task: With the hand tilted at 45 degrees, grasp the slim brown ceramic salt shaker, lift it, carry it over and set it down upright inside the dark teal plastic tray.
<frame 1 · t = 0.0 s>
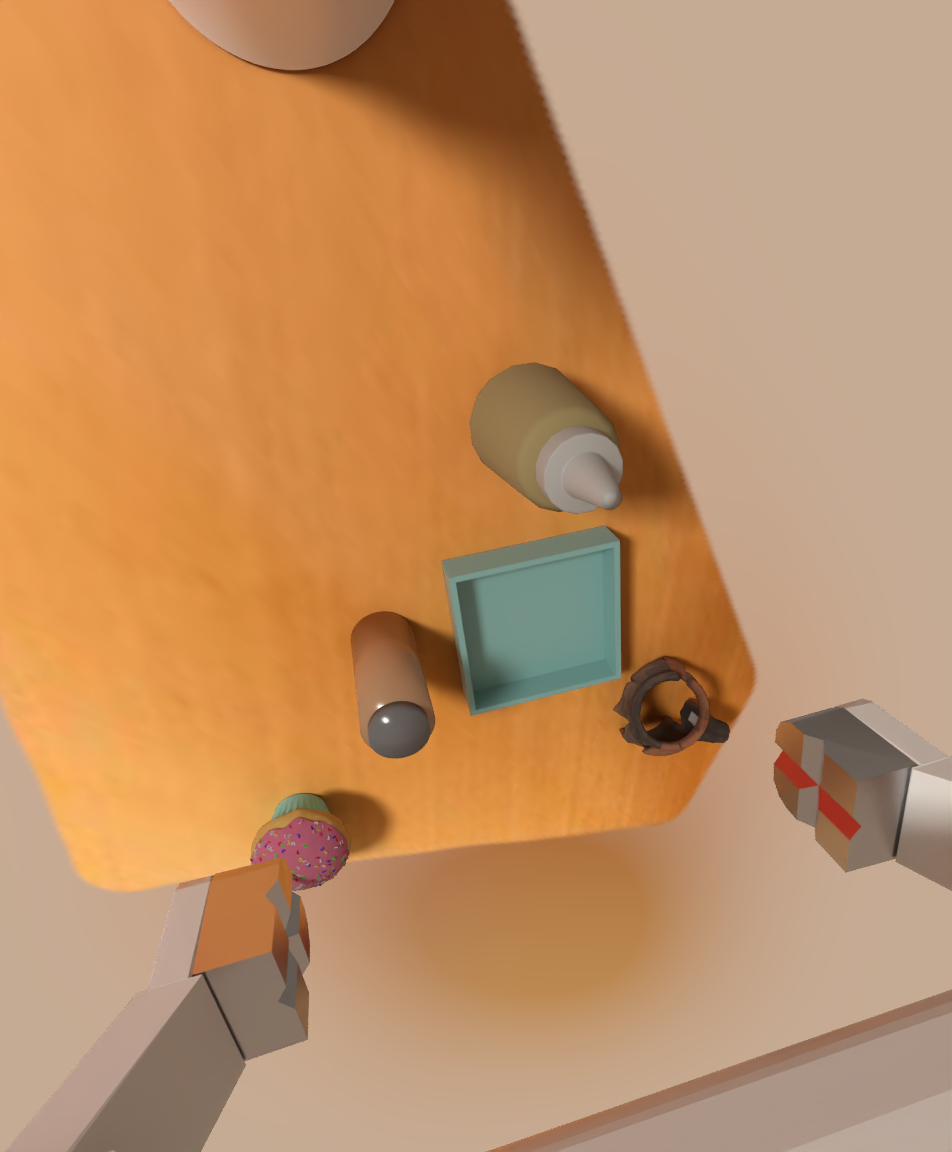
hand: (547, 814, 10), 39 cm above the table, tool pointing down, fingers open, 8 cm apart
tray: (531, 613, 56), on the table
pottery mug: (653, 693, 65), on the table
squeeze bottle: (511, 409, 48), on the table
cupcake: (302, 808, 61), on the table
shaker: (382, 638, 54), on the table
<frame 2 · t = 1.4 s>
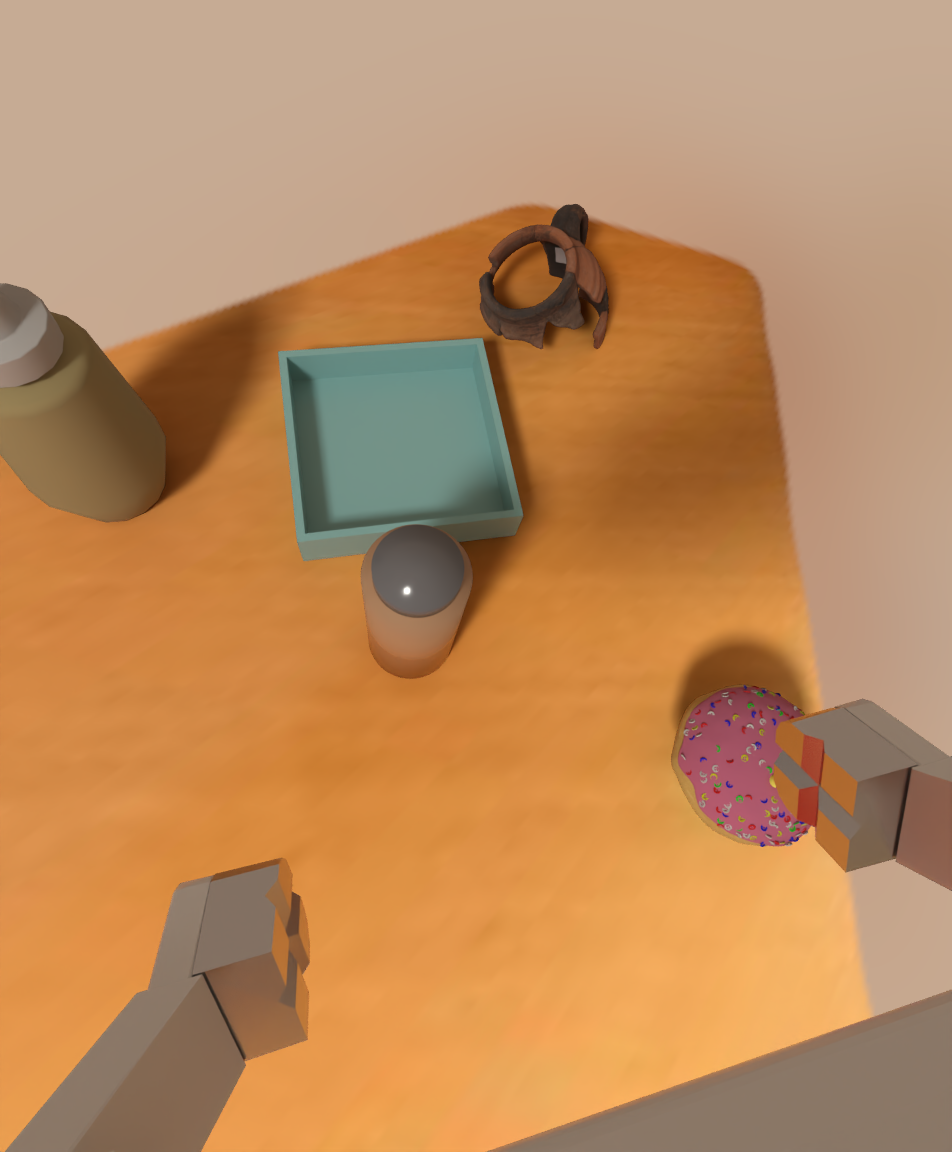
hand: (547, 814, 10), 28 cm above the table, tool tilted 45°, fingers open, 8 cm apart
tray: (397, 455, 45), on the table
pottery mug: (544, 315, 51), on the table
squeeze bottle: (120, 484, 42), on the table
cupcake: (710, 768, 40), on the table
shaker: (410, 637, 40), on the table
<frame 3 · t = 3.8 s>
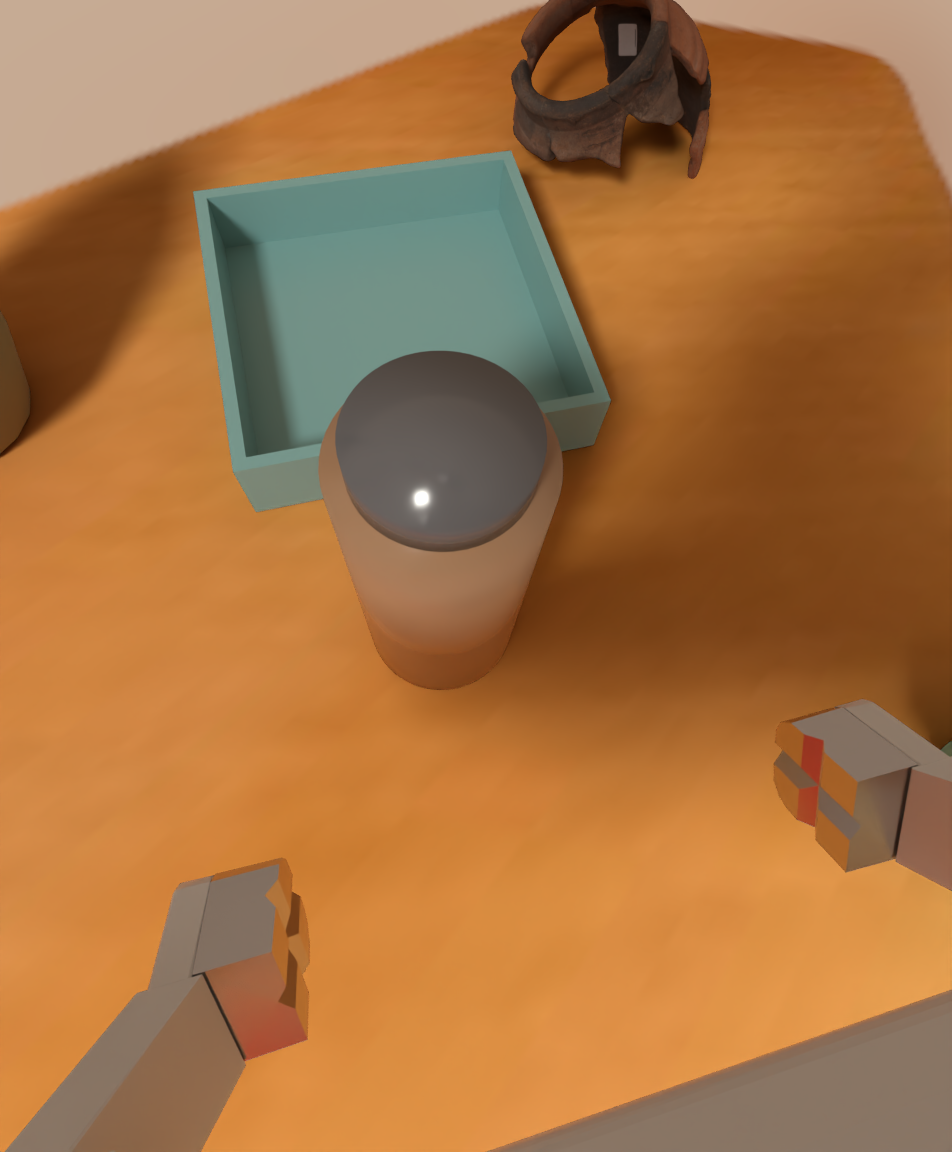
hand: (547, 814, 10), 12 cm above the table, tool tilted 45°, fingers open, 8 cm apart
tray: (395, 343, 29), on the table
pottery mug: (606, 143, 35), on the table
shaker: (441, 620, 24), on the table
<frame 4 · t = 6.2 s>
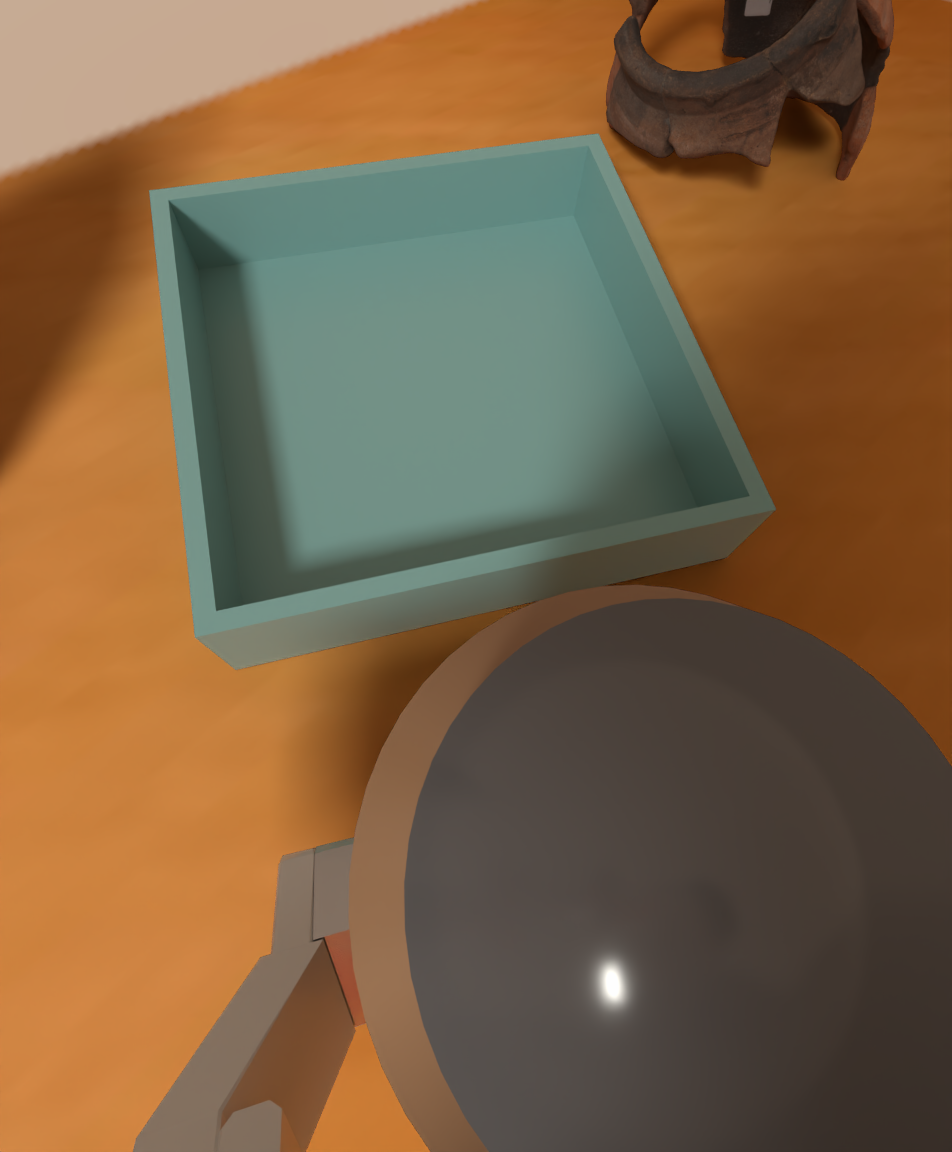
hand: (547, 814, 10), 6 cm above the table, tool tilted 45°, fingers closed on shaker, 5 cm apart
tray: (436, 404, 20), on the table
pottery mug: (722, 134, 26), on the table
shaker: (518, 848, 16), on the table, touching gripper
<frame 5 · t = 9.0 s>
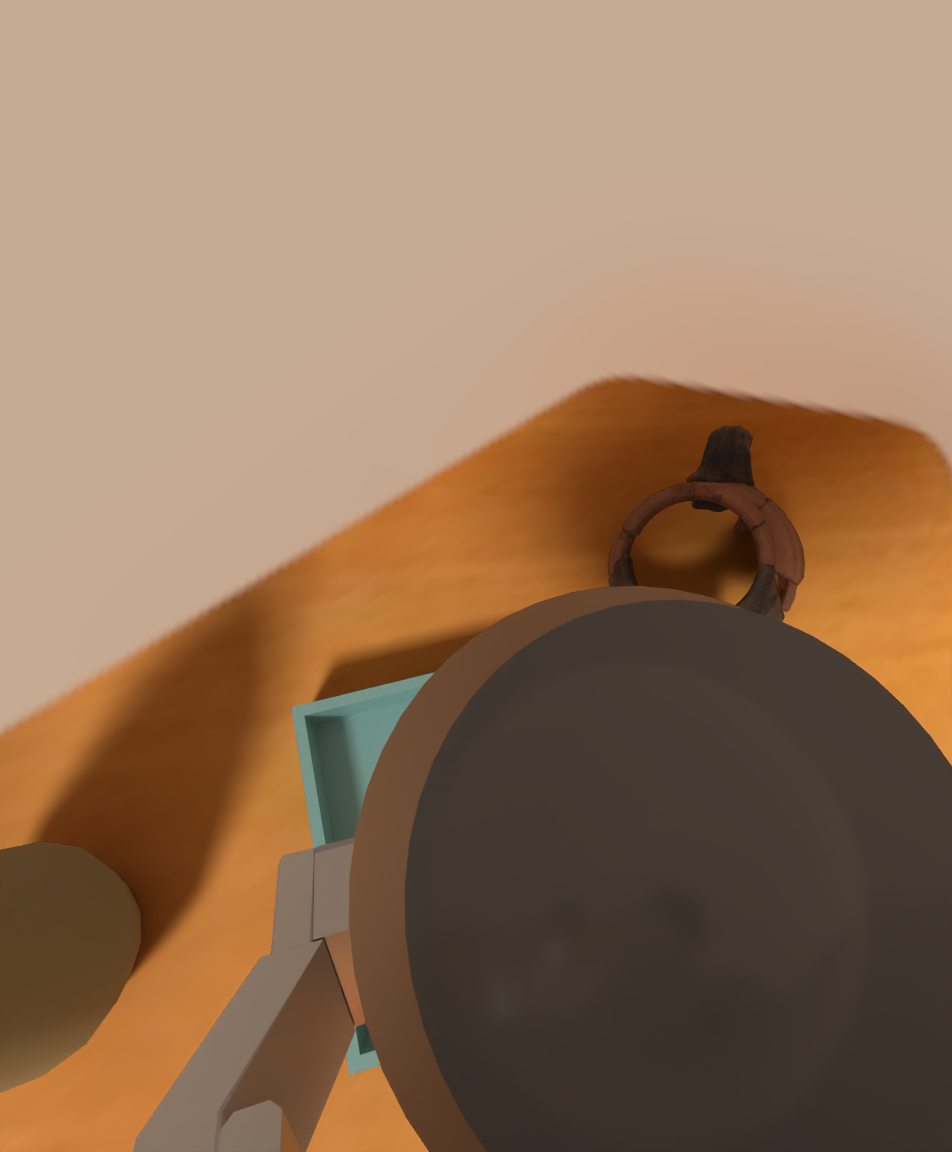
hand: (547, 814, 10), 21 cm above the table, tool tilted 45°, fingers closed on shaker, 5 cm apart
tray: (479, 828, 30), on the table
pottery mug: (692, 566, 36), on the table
squeeze bottle: (75, 941, 28), on the table
shaker: (518, 849, 16), point 15 cm above the table, touching gripper
when the fingers open (8 cm above the table, at t = 12.1 s): shaker drops 1 cm, resting on tray.
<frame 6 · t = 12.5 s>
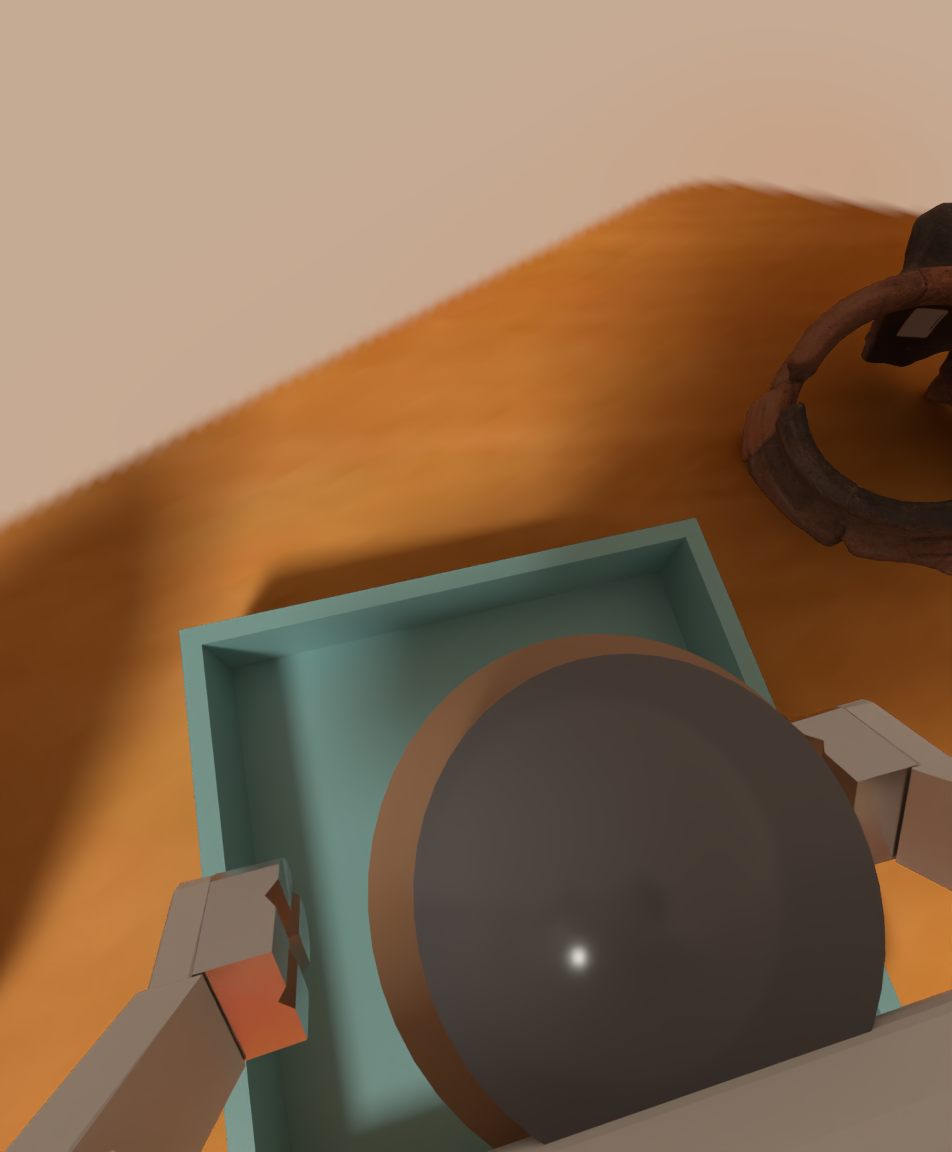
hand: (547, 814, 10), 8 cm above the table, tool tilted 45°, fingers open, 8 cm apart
tray: (511, 846, 17), on the table
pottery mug: (864, 451, 23), on the table
shaker: (512, 847, 17), point 1 cm above the table, touching tray
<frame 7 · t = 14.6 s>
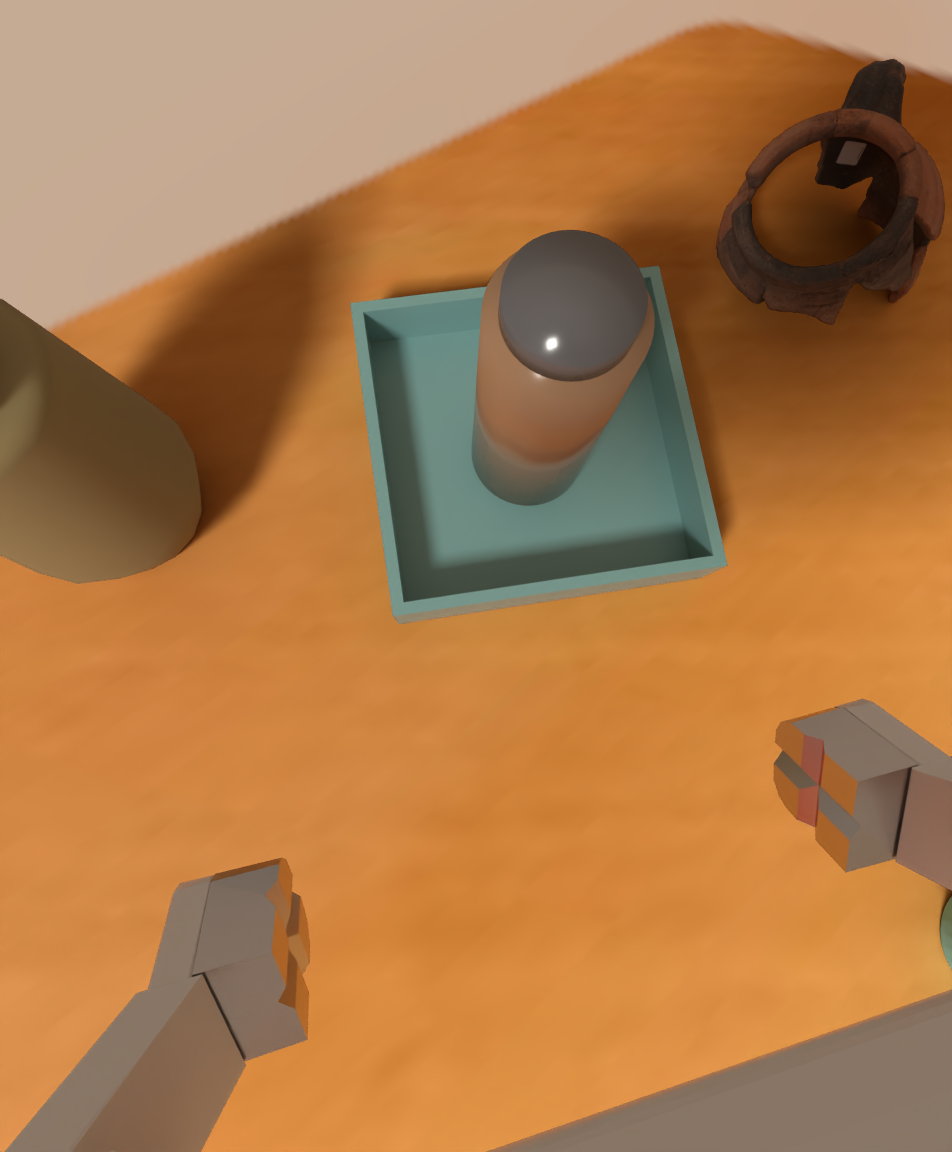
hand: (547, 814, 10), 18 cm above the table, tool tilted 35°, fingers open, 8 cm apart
tray: (525, 455, 31), on the table
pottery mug: (805, 251, 33), on the table
squeeze bottle: (141, 510, 30), on the table
shaker: (526, 452, 30), point 1 cm above the table, touching tray
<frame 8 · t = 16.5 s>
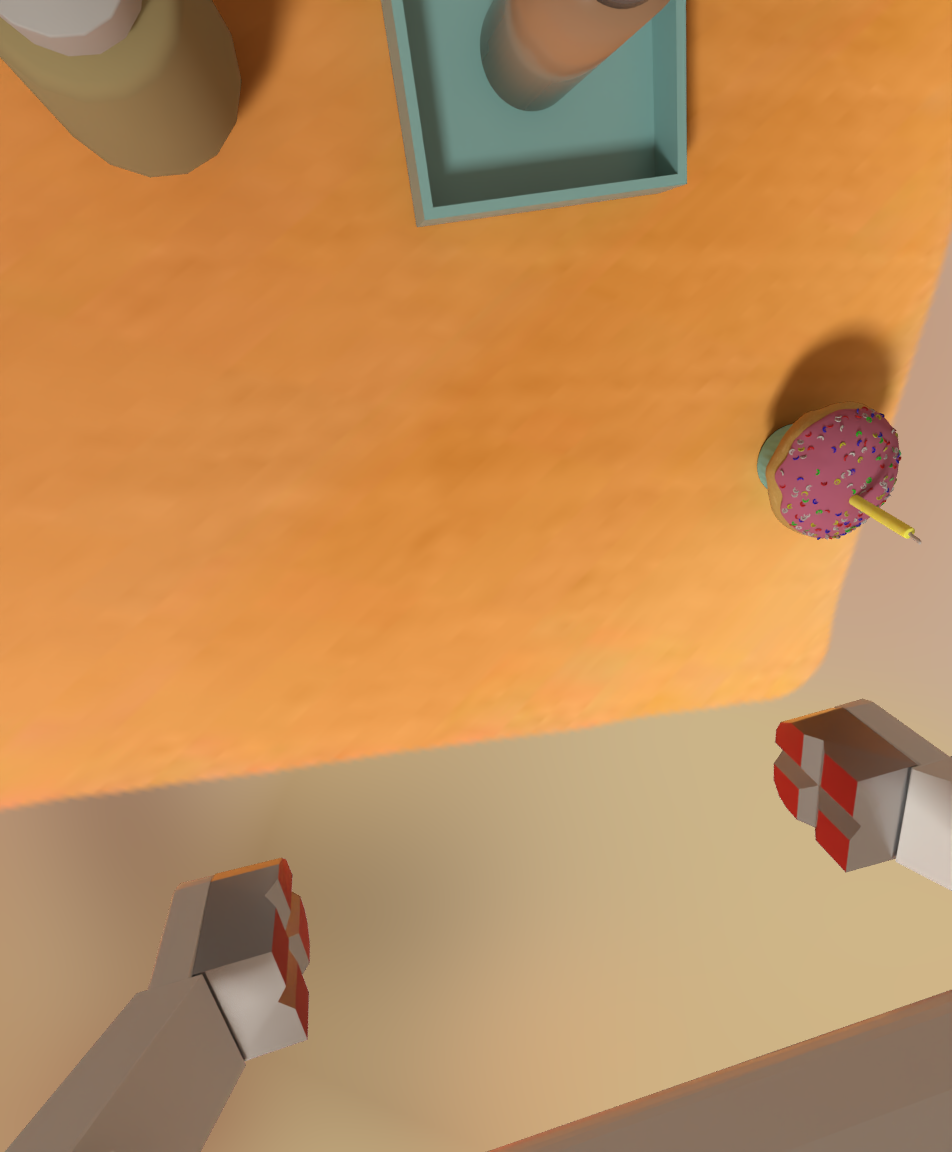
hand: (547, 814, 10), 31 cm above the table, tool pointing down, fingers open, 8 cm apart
tray: (528, 52, 33), on the table
squeeze bottle: (160, 92, 30), on the table
cupcake: (784, 456, 45), on the table
shaker: (530, 48, 32), point 1 cm above the table, touching tray
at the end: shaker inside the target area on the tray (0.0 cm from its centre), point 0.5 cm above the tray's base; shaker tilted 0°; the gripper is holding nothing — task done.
